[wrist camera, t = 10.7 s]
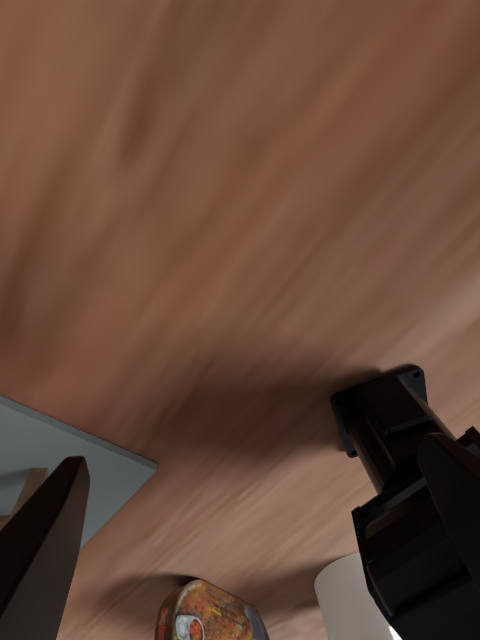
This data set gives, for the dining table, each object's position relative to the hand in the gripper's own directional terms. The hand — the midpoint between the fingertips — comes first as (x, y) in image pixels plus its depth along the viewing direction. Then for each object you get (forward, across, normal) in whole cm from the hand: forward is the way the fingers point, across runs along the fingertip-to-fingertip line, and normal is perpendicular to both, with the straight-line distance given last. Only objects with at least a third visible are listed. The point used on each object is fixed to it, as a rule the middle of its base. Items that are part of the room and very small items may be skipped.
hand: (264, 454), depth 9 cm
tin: (+11, 0, +35) cm, 37 cm away
